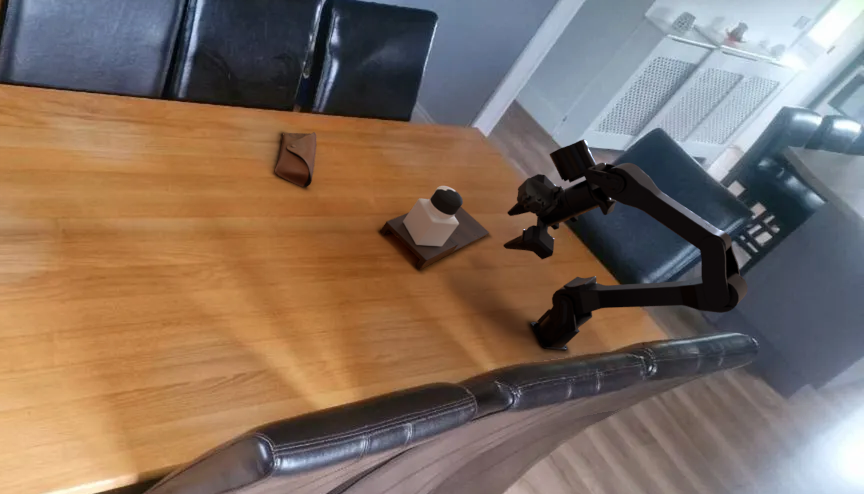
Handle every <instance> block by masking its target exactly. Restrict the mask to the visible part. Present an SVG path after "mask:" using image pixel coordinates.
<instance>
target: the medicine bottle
mask: <svg viewBox="0 0 864 494" xmlns="http://www.w3.org/2000/svg"><path fill="white" fill-rule="evenodd" d="M463 204H464V201H463V197H462V196H461V194H460V193H459V192H458V191H457V190H455V189H454V188H452V187H450V186H447V185H440V186H437V188H436V189H435V190H434V192H433V193H432V195H431V196H430V198H421V197H420V198H418V199H417V200H416V202H415V203H414V204H413V206H412V207H411V209H410V211H409V212H407V213H408V215H407V216H406V218H405V219H404V221H403V223H404V225H405V226H406V228H407V230H408V231H409V233H410V235H411V237H412V238H413V240H414V242H415V244H416V245H427V246H443V244H444V243H445V242H446V240H447V239H448V238H449V236H450V235H451V234H452V232H453V231H454V230H455V229H456V227H457V226H458V224H459V222H458V221H457V219H456V218H455V216H454V215H455V213H456V212H457V211H458V209H459V208H460V207H462V206H463Z"/></svg>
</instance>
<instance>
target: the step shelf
mask: <svg viewBox="0 0 864 494" xmlns="http://www.w3.org/2000/svg"><path fill="white" fill-rule="evenodd" d="M408 213H409V212H406V213H404V214H401V215H399V216H397V217H394V218H392V219H389V220H387V221H385V223H384V224H383V226H382V227H381V229H380V230H379V232H380V233H381V234H382V235H383V236H384V235H387V234H389V233H392V234H393V235H394V236H395V237H396V238H397V239H398V240H399V241H400V242H401V243H402V244H403V245H405V246H406V248H408V249H409V250H410V251H411V252H412V254H414V255H415V256H416V257H417V258H418V259H419V260H418V262H417V263H416V264H415V267H416V268H417V270H422V269H424V268H427V267H428V266H430V265H431V264H434V263H436V262H438V261H440V260H442V259H443V258H446V257H448V256H450V255H451V254H453V253H455V252H457V251H459V250H461V249H463V248H465V247H467V246H469V245H471V244H473V243H475V242H477V241H479V240H482V238H484V237H486V236H488V235H489V234H490V231H488V230H487V229H486V228H485V227H484V226H483V225H482V224H481V223H480V222H478V221H477V220H476V219H475V218H474V217H473V216H472V215H471V214H470V213H469V212H467V211H466V210H465V209H464V208H463V207H462V206H461V207H460V208H459V209H458V211H457V212H456V213H455V215H454V216H455V218H456V219H457V221H458V222H459V224H458V226H457V227H456V229H455V230H454V231H453V232H452V234H451V235H450V236H449V238H448V239H447V240H446V242H445V243H444V244H443V246H427V245H416V244H415V242H414V240H413V238H412V237H411V235H410V233H409V231H408V230H407V228H406V226H405V225H404V223H403V221H404V219H405V218H406V216H407V215H408Z"/></svg>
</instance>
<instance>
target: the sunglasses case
mask: <svg viewBox="0 0 864 494" xmlns="http://www.w3.org/2000/svg"><path fill="white" fill-rule="evenodd" d="M283 134H284V135H283ZM316 152H317V133H316V132H315V131H313V132H312V133H310V132H309V133H308V132H307V133H306V132H305V133H303V132H299V133H298V132H281V146H280V151H279V156H278V160H277V163H276V166H275V169H274V172H273V173H275V175H277V176H278V177H279V178H282V179H284V180H286V181H287V182H290V183H292V184H293V185H296V186H298V187H301V188H306V187H309V186H311V184H312V181H313V175H314V169H315V162H316V161H315V160H316V154H317V153H316Z"/></svg>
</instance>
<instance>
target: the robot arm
mask: <svg viewBox="0 0 864 494" xmlns="http://www.w3.org/2000/svg"><path fill="white" fill-rule="evenodd" d="M549 157H550V158H551V161H552V163H553V165H554V167H555V170H556V171H557V173H558V175H559V177H560V179H561V181H564V182H567V181H568V182H569V184H570V183H573V182H576V181H577V180H579V179H582V178H585V179H584V180H582V181H580V182H577V183H575V184H573V185H571V186H568V187H565V188H564V187H562V186H561V185H559V186H557V184H555V183H554V182H553V181H552V180H551V179H550V178H549V177H548V176H547V175H546V174H540V173H537V174H535V175H533V176H531V177H527V178H526V179H525V180H524V181H523V182H522V183H521V184H520V185H519V186H518V188H517V195H516V202H517V203H515V204H514V205H513V206H512V207H511V208H510V209H509V210H508V211H507V212H506V214H507V215H508V216H509V217H514V216H519V215H524V214H526V213H531V214H535V216H536V218H537V219H536V225H535V224H533V225H530V226H529V227H527V229H525V228H523V229H522V233H521V235H519V236H516V237H515V238H513V239H511V240H509V241H506V242H505V243H504V244H503V245H502V246H503V248H505V249H506V250H516V251H526V252H533V253H534V254H535V255H536V256H537V257H539V259H541V260H545V259H548V258H550V257H553V254H554V249H555V248H554V246H555V238H554V237H553V236H552V235H551V234H550V233H549V228H551V229H552V230H554V231H556V230H559V229H560V224H561V223H565V222H566V221H568V220H570V221H571V222H572V223H576V222H579V216H581V215H583V214H585V213H588V212H591V211H593V210H595V209H597V208H599V209H600V211H601V213H602V214H603V216H607V215H609V214H611V213H613V212H614V210H615V206H616V204H617V202H618V203H620V204H622V205H623V206H624V205H625V206H628V207H631V208H635V209H637V210H640V211H641V212H644V213H645V214H647V215H648V216H649V217H651V218H653V219H654V220H656V221H657V222H659V223H660V224H661V225H663V226H664V227H665V228H667V229H668V230H670V231H671V232H673V233H675V234H676V235H678V236H679V237H680V238H682V239H683V240H685V241H686V242H688V243H689V244H691V245H692V246H694V247H695V248H697V250H698V251H699V252H700V258H701V260H700V261H701V262H700V263H701V265H700V266H701V270H700V271H701V272H700V276H697V277H693V278H690V279H687V280H681V281H679V280H678V281H663V282H646V283H643V282H642V283H628V284H611V285H608V284H607V285H605V284H602V283H598V282H597V276H596V275H595V276H594V275H593V276H589V277H581V276H576V277H575V278H573V279H572V280H569V281H568V282H567V283H565V284H563V286H562V287H560V288H558V289H557V290H555V291H554V293H553V294H552V297H551V303H552V307H551V308H548V309H547V310H546V311H545V312H544V313H543V314H542V315H541V316H540V317H539V318H538V319H537V320H536V321H532V322H530V324H529V325H530V327H531V329H532V330H533V332H534V334H535V336H536V338H537V339H538V342H539V343H540V346H541V347H542V348H543V349H547V350H555V351H568V348H569V347H568V346H567V344H568V343H569V342H570V341H571V340H572V339H574V337H576V336H577V335H578V334H579V333H580V332H581V331H580V329H579V328H580V327H582V326H583V325H584V324H586V323H587V322H588V321H589V320H591V319H592V318H593V312H595V311H598V310H601V309H612V308H618V309H619V308H644V307H646V308H647V307H672V306H673V307H675V306H684V307H687V308H690V309H694V310H697V311H701V312H710V313H718V314H723V313H728V312H731V311H732V310H733V309H735V308H736V307H737V306H738V304H739V303H740V302H741V301H742V300H743V299H744V298H745V297H746V295H747V293H748V284H747V281H746V280H745V278H744V277H743V276H742V275H741V273H740V272H741V271H740V265H739V262H738V259H737V256H736V255H735V252H734V249H733V243H732V237H731V236H730V235H729V233H727V232H726V231H724V230H721V229H719V228H717V227H716V226H714V225H713V224H711V223H709V222H708V221H707V220H706V219H704V218H702V217H701V216H699V215H698V214H696V213H695V212H693V211H691V210H690V209H688V208H687V207H685V206H684V205H683V204H681V203H680V202H678V201H677V200H675V199H674V198H672V197H670V196H669V195H667V194H666V193H665V192H663V191H662V190H661V189H660V188H658V186H657V185H656V183H655V182H654V181H653V179H652V178H651V176H649V175H648V174H647V173H646V172H645V171H644V170H642V169H641V168H640V166H638V165H636V164H634V163H632V162H624V163H620V164H617V165H616V164H611V163H606V162H599V163H597V162H596V160H595V159H594V157H593V154H592V152H591V151H590V149H589V145H588V142H587V141H586V139H584V138H583V139H581V140H578V141H576V142H573V143H571V144H569V145H565V146H563V147H560V148H558V149H555V150H554V151H553V152H550V153H549Z"/></svg>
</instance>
